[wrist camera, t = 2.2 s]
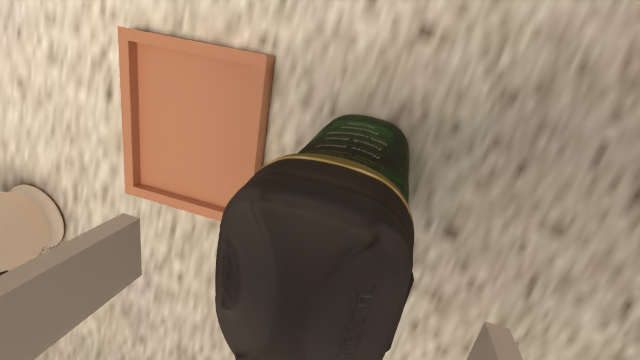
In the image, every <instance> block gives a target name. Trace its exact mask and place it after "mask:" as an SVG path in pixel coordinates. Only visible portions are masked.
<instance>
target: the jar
mask: <svg viewBox="0 0 640 360" xmlns="http://www.w3.org/2000/svg"><path fill="white" fill-rule="evenodd" d="M63 234H64V223H63V219H62V216H61V214H60V212H59V210H58V208H57V206H56V205H55V203H54V202H53V201H52V200H51V199H50V198H49V197H48V196H47V195H46V194H45V193H44V192H42V191H41V190H39V189H38V188H36V187H33V186H30V185H18V186H15V187H14V188H12V189H11V190H10V191H9V192H4V191H0V272H3V271H6V270H8V271H10V270H12V269H14V268H16V267H18V266H20V265H22V264H24V263H26V262H28V261H30V260H31V259H33V258H34V257H35V256H36V255H37V254H38V253H39V252H40V251H41V249H42V248H46V247H52V246H55V245H57V244H58V243H59V242H60V241H61V240H62V238H63Z"/></svg>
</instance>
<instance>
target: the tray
mask: <svg viewBox="0 0 640 360" xmlns="http://www.w3.org/2000/svg"><path fill="white" fill-rule="evenodd" d="M118 43H119V65H120V87H121V108H122V130H123V151H124V173H125V193H127V194H131V195H134V196H138V197H141V198H144V199H148V200H151V201H154V202H158V203H161V204H165V205H168V206H171V207H175V208H178V209H182V210H185V211H188V212H192V213H195V214H198V215H202V216H205V217H209V218H212V219H215V220H219V221H221V220H222V215H223V212H224V210H225V208H226V206H227V204H228V202H229V201H230V200H231V198H232V197H233V196H234V195H235V194H236V192H237V191H238V190H239V189H240V188H242V187H243V186H244V185H245V184H246V183H247V182H248V181H249V180H250V178H251V177H253V176H254V175H255V173H256V172H258V171H259V170H260V169H261V168H262V164H263V156H264V147H265V139H266V131H267V122H268V114H269V105H270V97H271V89H272V80H273V72H274V63H275V56H270V55H265V54H260V53H255V52H250V51H244V50H239V49H234V48H229V47H224V46H218V45H213V44H208V43H203V42H198V41H193V40H187V39H182V38H177V37H172V36H167V35H161V34H156V33H151V32H146V31H141V30H136V29H130V28H124V27H119V26H118Z"/></svg>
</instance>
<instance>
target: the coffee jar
mask: <svg viewBox="0 0 640 360" xmlns="http://www.w3.org/2000/svg"><path fill="white" fill-rule="evenodd" d="M408 173H409V148H408V143H407V140H406V138H405V136H404V134H403V133H402V132H401V131H400V130H399V129H398V128H397V127H396V126H394V125H392V124H390V123H388V122H385V121H382V120H379V119H375V118H371V117H366V116H359V115H345V116H341V117H338V118H336V119H334V120H333V121H331V122H330V123H329V124H328V125H327V126H325V127H324V128H323V129H322V130H321V131H320V132H319V133H318V134H317V135H316V136H315V137H314V138H313V139H312V141H310V142H309V143H308V144H307V145H306V146H305V147H304V148H303V149H302V150H301V151H300V152H299V153H298V154H291V155H286V156H283V157H279V158H277V159H275V160H273V161H271V162H269V163H267V164H266V165H264V166H263V167H262V168H261V169H260V170H259V171H258V172H256V173H255V175H254V176H253V177H251V178H250V180H249V181H248V182H247V183H246V184H245V185H244V186H243V187H242V188H240V189H239V190H238V191H237V192H236V194H235V195H234V196H233V197H232V198H231V200H230V201H229V202H228V204H227V206H226V208H225V210H224V212H223V215H222V220H221V224H220V233H219V240H218V248H217V256H216V257H217V258H216V274H215V287H216V296H215V303H216V313H217V317H218V322H219V325H220V327H221V330H222V333H223V335H224V337H225V340H226V342H227V344H228V345H229V347H230V349H231V351H232V352H233V354H234V355H235V359H236V360H382V359H383V357H384V355H385V353H386V352H387V351H388V350H389V349H390V348H391V345H392V341H393V338H394V335H395V332H396V329H397V327H398V324H399V321H400V318H401V315H402V312H403V309H404V306H405V304H406V301H407V298H408V296H409V293H410V290H411V287H412V285H413V282H414V277H413V272H412V268H413V246H414V226H413V219H412V215H411V212H410V208H409V184H408Z"/></svg>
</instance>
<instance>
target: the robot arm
mask: <svg viewBox="0 0 640 360" xmlns="http://www.w3.org/2000/svg"><path fill="white" fill-rule="evenodd" d="M141 275H142V271H141V241H140V218H137V217H134V216H130V215H127V214H124V213H123V214H121V215H119V216H117V217H115V218H113V219H111V220H109V221H107V222H105V223H103V224H101V225H99V226H97V227H95V228H93V229H91V230H89V231H87V232H85V233H83V234H81V235H79V236H77V237H75V238H73V239H71V240H69V241H67V242H65V243H63V244H61V245H60V246H58V247H56V248H54V249H52V250H50V251H48V252H46V253H44V254H42V255H40V256H38V257H36V258H34V259H32V260H30V261H28V262H26V263H24V264H22V265H20V266H18V267H16V268H14V269H12V270H10V271H8V270H6V271H3V272H0V360H34V359H35V358H36V357H38V356H39V355H40V354H42V353H43V352H44V351H45V350H47V349H48V348H49V347H50V346H52V345H53V344H54V343H56V342H57V341H58V340H59V339H61V338H62V337H63V336H64V335H66V334H67V333H68V332H70V331H71V330H72V329H73V328H75V327H76V326H77V325H78V324H80V323H81V322H82V321H84V320H85V319H86V318H87V317H89V316H90V315H91V314H92V313H94V312H95V311H96V310H98V309H99V308H100V307H101V306H103V305H104V304H105V303H106V302H108V301H109V300H110V299H112V298H113V297H114V296H115V295H117V294H118V293H119V292H120V291H122V290H123V289H124V288H126V287H127V286H128V285H129V284H131V283H132V282H133V281H134V280H136V279H137V278H138V277H140V276H141ZM467 360H523V359H522V356H521V354H520V352H519V350H518V347H517V345H516V343H515V341H514V338H513V336H512V334H511V332H510V329H508V328H505V327H501V326H498V325H495V324H491V323H488V322H485V323H484V325H483V327H482V329H481V331H480V333H479V335H478V337H477V339H476V341H475V344H474V346H473V348H472V350H471V352H470V354H469V356H468V358H467Z"/></svg>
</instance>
